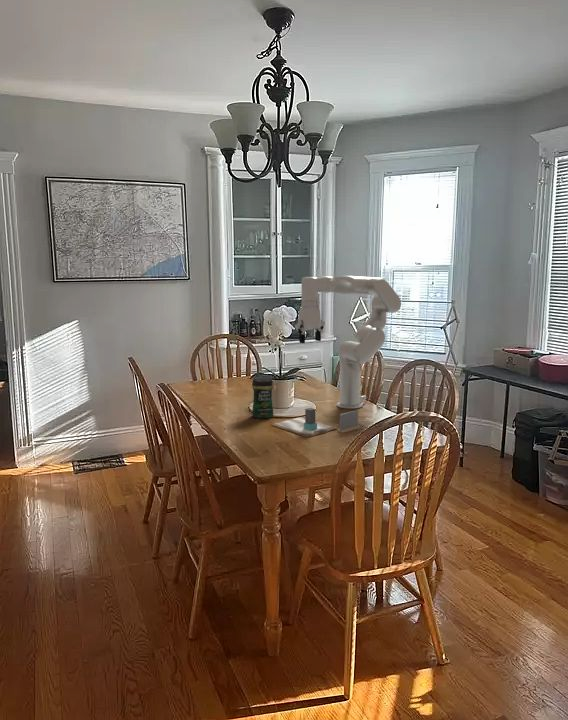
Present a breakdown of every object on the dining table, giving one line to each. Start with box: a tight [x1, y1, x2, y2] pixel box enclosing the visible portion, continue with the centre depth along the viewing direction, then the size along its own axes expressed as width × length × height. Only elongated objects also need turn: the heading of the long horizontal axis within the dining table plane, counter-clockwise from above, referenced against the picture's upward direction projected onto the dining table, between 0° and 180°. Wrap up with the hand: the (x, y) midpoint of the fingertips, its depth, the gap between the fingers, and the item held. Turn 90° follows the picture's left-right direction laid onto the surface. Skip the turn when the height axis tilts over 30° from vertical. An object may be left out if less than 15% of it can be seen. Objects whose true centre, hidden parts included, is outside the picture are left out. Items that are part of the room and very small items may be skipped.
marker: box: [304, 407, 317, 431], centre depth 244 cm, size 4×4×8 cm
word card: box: [337, 409, 361, 434], centre depth 245 cm, size 10×3×8 cm, turn 129°
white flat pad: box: [271, 416, 338, 439], centre depth 250 cm, size 17×23×2 cm
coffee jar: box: [251, 376, 274, 419], centre depth 265 cm, size 10×8×19 cm
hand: (310, 341), depth 267 cm, fingers open, 9 cm apart
